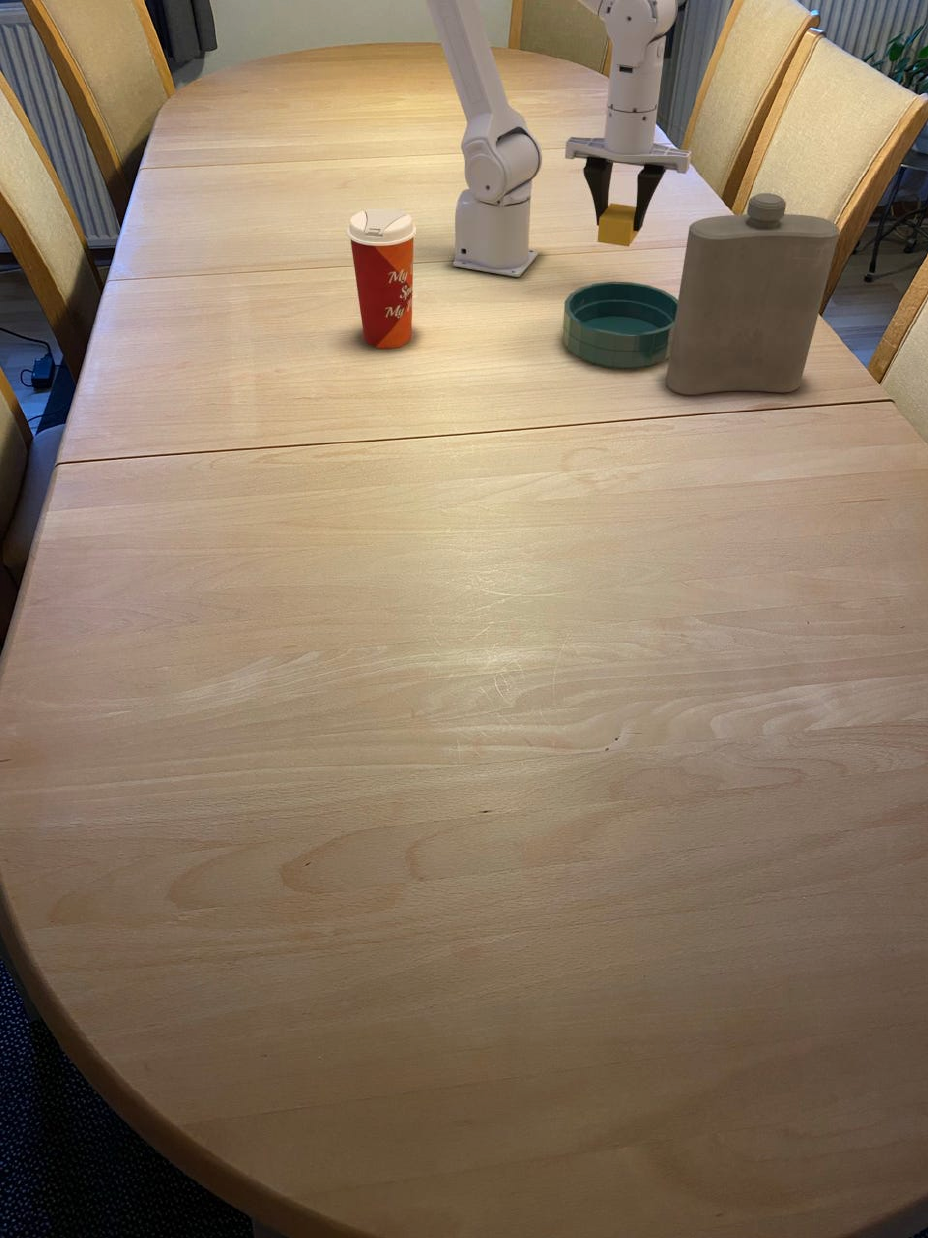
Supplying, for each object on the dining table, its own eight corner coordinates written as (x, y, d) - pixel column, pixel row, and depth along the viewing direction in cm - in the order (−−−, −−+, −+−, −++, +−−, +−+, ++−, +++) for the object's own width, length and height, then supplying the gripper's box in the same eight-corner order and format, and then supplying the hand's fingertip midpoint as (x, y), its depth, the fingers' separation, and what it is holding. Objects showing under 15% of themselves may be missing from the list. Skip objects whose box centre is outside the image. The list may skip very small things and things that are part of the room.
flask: (790, 367, 113) (834, 186, 99) (805, 393, 109) (854, 208, 95) (659, 370, 112) (686, 189, 99) (670, 396, 108) (699, 211, 95)
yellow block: (597, 242, 121) (599, 217, 119) (608, 226, 125) (610, 202, 123) (628, 246, 120) (631, 221, 118) (639, 231, 124) (642, 207, 122)
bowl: (546, 358, 114) (548, 322, 111) (581, 308, 124) (584, 273, 121) (662, 381, 111) (667, 344, 108) (689, 328, 120) (695, 292, 117)
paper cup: (411, 355, 115) (406, 235, 105) (347, 349, 116) (337, 230, 107) (426, 324, 121) (423, 208, 111) (365, 319, 122) (357, 203, 112)
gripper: (703, 102, 113) (685, 221, 122) (581, 88, 117) (572, 205, 126) (690, 120, 108) (672, 243, 117) (563, 105, 112) (555, 226, 121)
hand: (619, 225), depth 122 cm, fingers closed on yellow block, 4 cm apart
